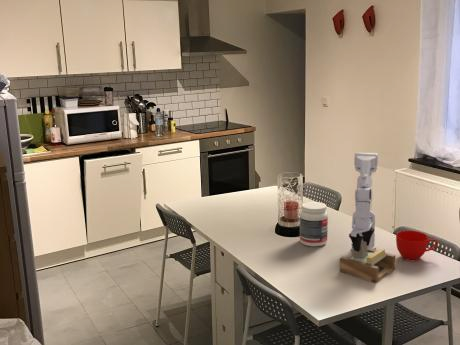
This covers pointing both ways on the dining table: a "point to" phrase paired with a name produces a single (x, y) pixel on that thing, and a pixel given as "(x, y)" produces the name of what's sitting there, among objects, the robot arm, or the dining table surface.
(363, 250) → the granite block
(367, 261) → the trapdoor
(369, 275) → the frame
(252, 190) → the dining table surface
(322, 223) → the supplement tub
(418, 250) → the ceramic cup
